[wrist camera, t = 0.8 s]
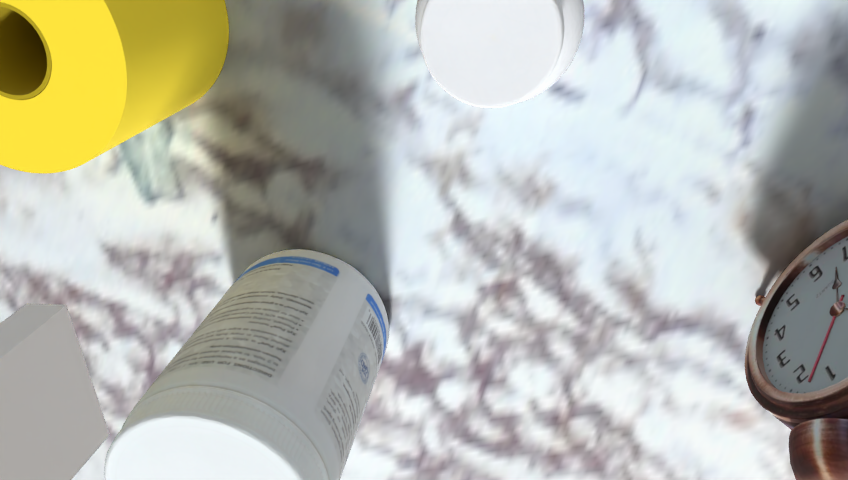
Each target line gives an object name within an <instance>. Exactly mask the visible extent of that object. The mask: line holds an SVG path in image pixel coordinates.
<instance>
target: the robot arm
mask: <svg viewBox="0 0 848 480" xmlns="http://www.w3.org/2000/svg"><path fill="white" fill-rule="evenodd" d="M109 435H110V434H109V431H108V428H107V425H106V422H105V419H104V416H103V413H102V410H101V407H100V404H99V401H98V398H97V395H96V392H95V389H94V386H93V383H92V380H91V377H90V374H89V372H88V369H87V366H86V363H85V360H84V357H83V354H82V351H81V348H80V345H79V342H78V339H77V336H76V333H75V330H74V327H73V324H72V321H71V318H70V315H69V312H68V309H67V306H66V305H52V304H26V305H24V306H23V307H22V308H20V309H19V310H18V311H16V312H15V313H14V314H12V315H11V316H10V317H8V318H7V319H6V320H4V321H3V322H2V323H0V480H71V479H72V478H73V477H74V476H75V475H76V474H77V472H78V471H79V470H80V469H81V468H82V467H83V465H84V464H85V463H86V462H87V461H88V460H89V458H90V457H91V456H92V455H93V454H94V452H95V451H96V450H97V449H98V448H99V447H100V445H101V444H102V443H103V442H104V441H105V440H106V438H107V437H108V436H109Z"/></svg>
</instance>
